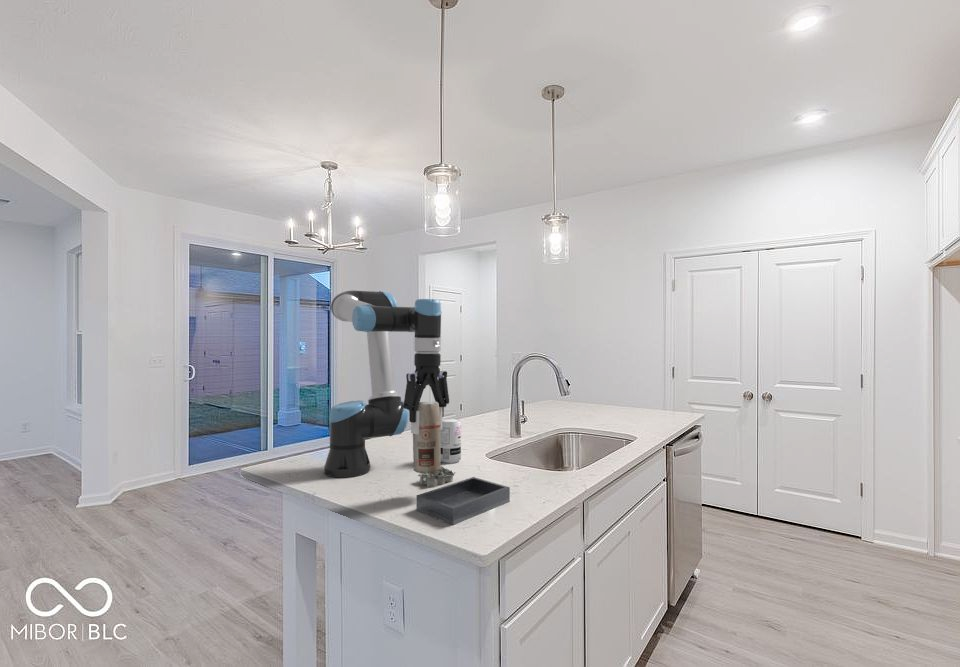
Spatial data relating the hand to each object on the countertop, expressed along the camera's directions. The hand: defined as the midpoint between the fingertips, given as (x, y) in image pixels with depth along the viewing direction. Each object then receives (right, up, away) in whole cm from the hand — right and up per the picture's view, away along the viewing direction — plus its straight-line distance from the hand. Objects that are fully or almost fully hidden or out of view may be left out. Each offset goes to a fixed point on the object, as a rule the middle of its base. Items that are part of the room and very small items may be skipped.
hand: (426, 431), depth 135 cm
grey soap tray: (+11, -19, -8) cm, 23 cm away
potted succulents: (+2, -19, +13) cm, 24 cm away
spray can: (0, -12, 0) cm, 12 cm away
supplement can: (+4, -19, +38) cm, 43 cm away
